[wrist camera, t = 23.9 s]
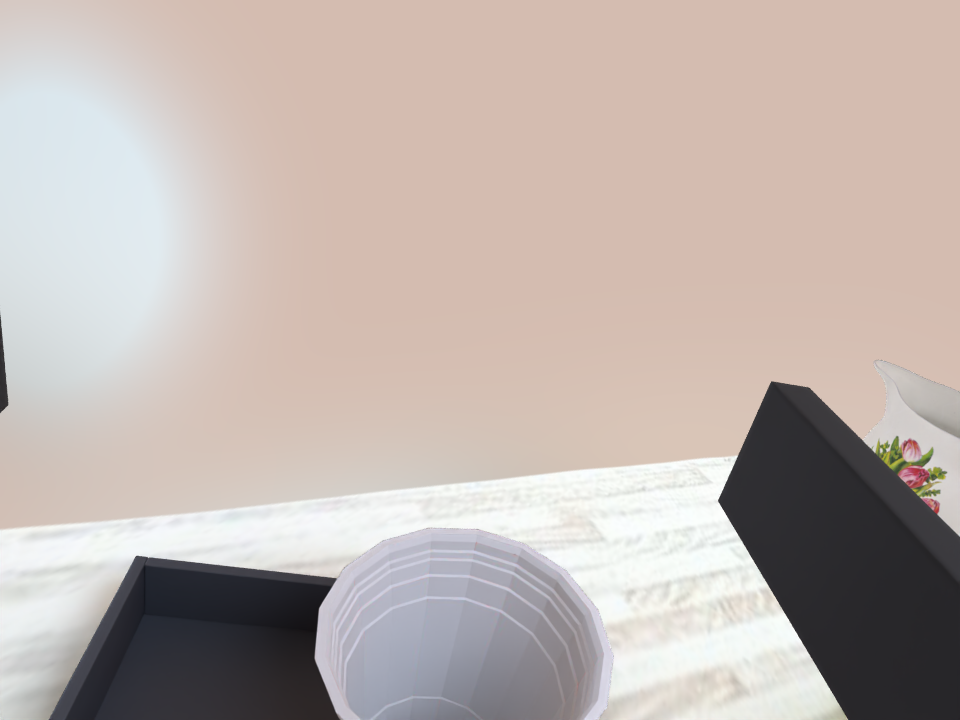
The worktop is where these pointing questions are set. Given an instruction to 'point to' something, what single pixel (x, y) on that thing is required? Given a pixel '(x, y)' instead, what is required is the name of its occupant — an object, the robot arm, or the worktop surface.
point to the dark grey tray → (203, 647)
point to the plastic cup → (461, 633)
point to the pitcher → (921, 438)
